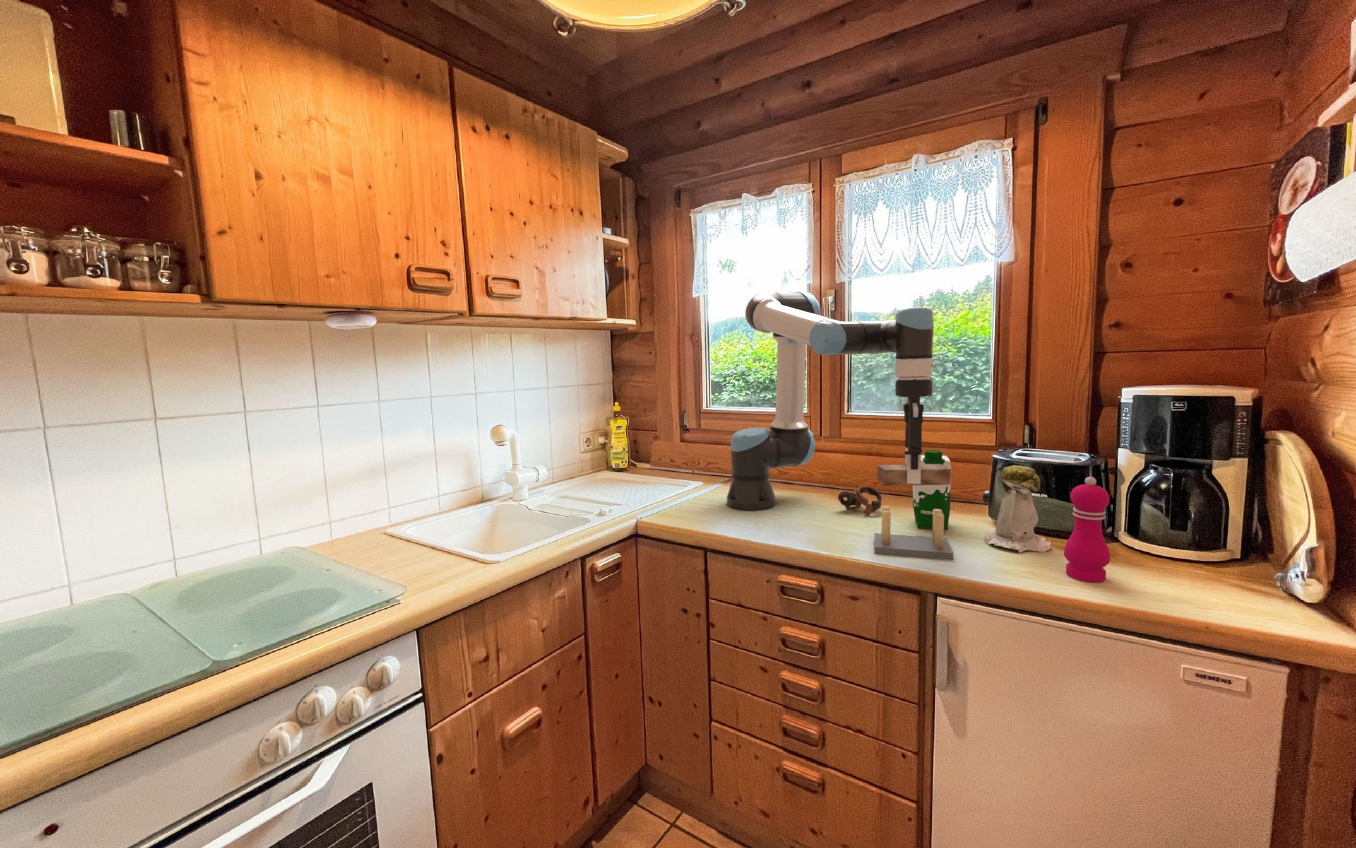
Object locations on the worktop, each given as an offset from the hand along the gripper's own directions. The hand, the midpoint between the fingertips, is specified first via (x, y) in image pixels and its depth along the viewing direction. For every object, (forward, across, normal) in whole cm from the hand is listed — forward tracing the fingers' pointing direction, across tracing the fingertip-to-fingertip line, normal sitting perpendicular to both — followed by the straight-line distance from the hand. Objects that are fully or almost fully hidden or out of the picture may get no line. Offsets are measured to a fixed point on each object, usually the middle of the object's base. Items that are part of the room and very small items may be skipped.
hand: (912, 479), depth 121 cm
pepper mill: (+17, -8, -31) cm, 36 cm away
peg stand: (+16, 0, 0) cm, 16 cm away
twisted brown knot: (+17, +29, +12) cm, 36 cm away
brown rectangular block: (+1, 0, 0) cm, 1 cm away
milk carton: (+17, +20, -6) cm, 27 cm away
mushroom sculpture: (+17, +9, -23) cm, 30 cm away
